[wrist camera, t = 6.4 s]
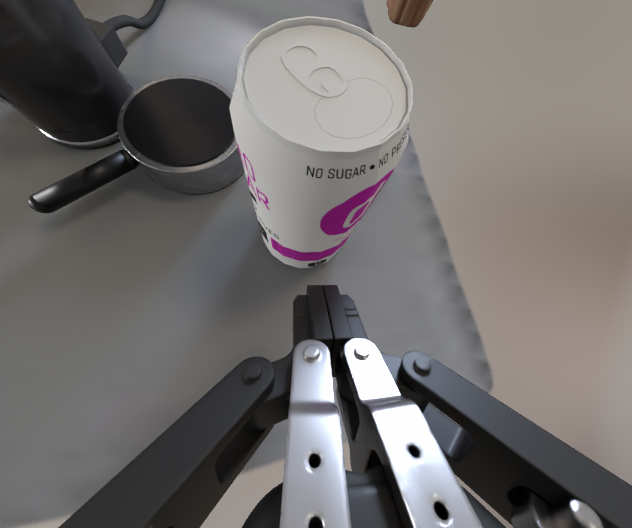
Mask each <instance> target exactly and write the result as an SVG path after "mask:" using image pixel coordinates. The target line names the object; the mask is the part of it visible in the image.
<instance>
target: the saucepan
mask: <svg viewBox="0 0 632 528" xmlns="http://www.w3.org/2000/svg"><path fill="white" fill-rule="evenodd" d="M232 96H233V95H232V94H231V93H230V92H229V91H228V90H227V89H225V88H224V87H222V86H221V85H219V84H217V83H215V82H213V81H210V80H207V79H204V78H200V77H194V76H170V77H164V78H160V79H157V80H154V81H151V82H149V83H147V84H145V85H143V86H141V87H140V88H138V89H137V90H136V91H134V92H133V93H132V94H131V95H130V96H129V97H128V98H127V99H126V101H125V102H124V104H123V105H122V107H121V109H120V111H119V115H118V119H117V131H118V135H119V138H120V140H121V143H122V145H123V146H124V148H125V149H126V150H120V151H118V152H116V153H114V154H112V155H110V156H108V157H106V158H104V159H102V160H100V161H98V162H96V163H94V164H92V165H90V166H88V167H86V168H84V169H82V170H80V171H78V172H76V173H74V174H72V175H70V176H68V177H66V178H64V179H62V180H60V181H58V182H56V183H54V184H52V185H50V186H48V187H46V188H44V189H42V190H40V191H39V192H37V193H35V194H33V195H31V196H30V197H29V199H28V203H29V205H30V207H31V208H32V209H34V210H35V211H38V212H41V213H52V212H54V211H56V210H58V209H60V208H62V207H64V206H66V205H68V204H69V203H71V202H73V201H75V200H77V199H79V198H81V197H83V196H84V195H86V194H88V193H90V192H92V191H94V190H96V189H98V188H99V187H101V186H103V185H105V184H107V183H109V182H111V181H113V180H114V179H116V178H118V177H120V176H122V175H124V174H126V173H128V172H129V171H131V170H133V169H135V168H136V167H137V166H138V164H139V165H140V166H141V167H142V168H143V169H144V170H145V171H146V172H147V174H148V175H149V176H150V177H151V178H152V179H153V180H154V181H156V182H157V183H158V184H160V185H161V186H163V187H165V188H167V189H169V190H172V191H175V192H178V193H183V194H206V193H211V192H214V191H217V190H220V189H222V188H224V187H226V186H228V185H230V184H231V183H233V182H234V181H235V180H236V179H237V178H238V177H240V175H241V174H242V173H243V172H244V167H243V164H242V160H241V157H240V153H239V149H238V146H237V142H236V138H235V135H234V130H233V124H232V119H231V114H230V109H229V107H230V103H231V99H232Z"/></svg>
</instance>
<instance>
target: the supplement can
mask: <svg viewBox="0 0 632 528" xmlns="http://www.w3.org/2000/svg"><path fill="white" fill-rule="evenodd" d="M237 74H238V79H237V82H236V85H235V88H234V92H233V96H232V99H231V103H230V107H229V109H230V114H231V119H232V124H233V130H234V135H235V138H236V142H237V146H238V149H239V153H240V157H241V160H242V164H243V167H244V171H245V175H246V178H247V182H248V186H249V189H250V193H251V197H252V200H253V204H254V207H255V211H256V215H257V218H258V222H259V226H260V229H261V233H262V237H263V240H264V243H265V244H266V246H267V248H268V249H269V251H270V252H271V254H272V255H273V256H275V257H276V258H277V259H279V260H280V261H281V262H283V263H284V264H287V265H290V266H293V267H297V268H314V267H317V266H319V265H322V264H324V263H327V262H328V261H329V260H331V259H332V258H333V257H334V256H335V255H336V254H337V253H338V252H339V250H340V249H341V247H342V246H343V244H344V243H345V241H346V240H347V239H348V237H349V236H350V234H351V233H352V231H353V230H354V228H355V227H356V225H357V224H358V222H359V221H360V219H361V218H362V216H363V215H364V213H365V212H366V210H367V209H368V207H369V206H370V204H371V203H372V202H373V200H374V199H375V197H376V196H377V194H378V193H379V191H380V190H381V188H382V187H383V185H384V184H385V182H386V181H387V179H388V178H389V176H390V175H391V173H392V172H393V170H394V169H395V167H396V166H397V165H398V163H399V160H400V158H401V156H402V154H403V152H404V150H405V147H406V145H407V143H408V131H409V113H410V111H411V109H412V107H413V93H412V91H413V89H412V82H411V80H410V78H409V75H408V73H407V71H406V68H405V66H404V64H403V62H402V61H401V60H400V59H399V57H398V56H397V55H396V54H395V53H394V52H393V51H392V50H391V49H390V47H388V45H387V44H386V43H385V42H383V41H381V40H380V39H378V38H377V37H375V36H374V35H372V34H371V33H369V32H368V31H366V30H364V29H363V28H360V27H357V26H354V25H352V24H349V23H346V22H343V21H340V20H338V19H331V18H322V17H312V16H306V17H299V18H292V19H285V20H281V21H279V22H277V23H275V24H273V25H270V26H268V27H266V28H264V29H262V30H260V31H259V32H258V33H257V34H256V35H255V36H254V37H253V38H252V39H251V40H250V42H249V43H248V44H247V45H246V46H245V47H244V48H243V51H242V55H241V58H240V62H239V65H238V69H237Z"/></svg>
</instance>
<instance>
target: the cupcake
mask: <svg viewBox="0 0 632 528" xmlns="http://www.w3.org/2000/svg"><path fill="white" fill-rule="evenodd" d="M432 2H433V0H387V7H388V14H389V18H390V20H391V21H392V22H393V23H395V24H399V25H403V26H407V27H416V26H418V25H419V23H420V22H421V20H422V19H423V18H424V16H425V14H426V12H427V11H428V9H429V7H430V6H431V4H432Z"/></svg>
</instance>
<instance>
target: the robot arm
mask: <svg viewBox="0 0 632 528" xmlns="http://www.w3.org/2000/svg"><path fill="white" fill-rule="evenodd" d="M164 2H165V0H155V1H154V3H153V5H152V7H151V9H150V10H149V12H148V13H147V14H146V15H145V16H143V17H142V18H140V19H136V18H134V17H131V16H127V15H120V16H116V17H113V18H111V19H109V20H107V21H105V22H104V23H101V22H97V21H94V20H90V19H87V18H85V17H84V16H83V14H82V12H81V11H80V9H79V8H78V6H77V5H76V3H75V2H74V0H0V97H1V98H2V99H3V100H4V101H6V102H7V103H8V104H9V105H11V106H12V107H13V108H14V109H16V110H17V111H18V112H19V113H21V114H22V115H23V116H24V117H26V118H27V119H28V120H29V121H31V122H32V123H33V124H34V125H36V126H37V128H38V129H39V130H40V131H41V132H43V133H44V134H45V135H46V136H48V137H49V138H50V139H52V140H53V141H55V142H57V143H59V144H62V145H65V146H68V147H73V148H95V147H100V146H104V145H107V144H110V143H113V142H115V141H117V140H119V139H120V138H119V135H118V131H117V119H118V115H119V111H120V109H121V107H122V105H123V104H124V102H125V101H126V99H127V98H128V97H129V96H130V95H131V94H132V93H133V92H134V90H133V89H132V87H131V86H130V85H129V84H128V83H127V82H126V80H125V79H124V77H123V75H122V74H121V72H120V71H119V69H118V67H119V66H120V64H121V63H122V61H123V60H124V58H125V57H126V55H127V51H126V49H125V48H124V46H123V44H122V42H121V41H120V39H119V37H118V36H117V34H116V32H115V31H117V30H119V29H121V28H123V27H127V26H132V27H135V28H138V29H145V28H147V27H149V26H150V25H151V24H152V23H153V22H154V21H155V20H156V18H157V17H158V15H159V14H160V12H161V9H162V7H163V5H164ZM0 100H1V99H0ZM3 100H2V101H3ZM4 101H3V102H4ZM4 103H5V102H4ZM332 377H336V380H337V391H336V395H337V399H338V403H339V407H340V411H341V415H342V419H343V423H344V427H345V431H346V434H347V438H348V442H349V447H350V461H351V468H352V471H347V470H345V463H344V454H343V445H342V436H341V426H340V417H339V411H338V408H337V407H336V406H335V400H334V389H333V379H332ZM429 402H430V403H431V404H432V405H431V404H430V403H429ZM433 405H434V406H435V407H436V408H435V407H434V406H433ZM437 408H438V409H439V410H440V411H441V412H440V411H439V410H438V409H437ZM442 412H443V413H444V414H445V415H444V414H443V413H442ZM446 415H447V416H448V417H449V418H448V417H447V416H446ZM287 418H288V425H287V438H286V451H285V465H284V478H283V483H281V484H279V485H278V486H276V487H275V488H273V489H272V490H271V491H270V492H269V493H268V494H266V495H265V497H263V499H262V500H261V501H260V502H259V503H258V504H257V506H256V507H255V508H254V509H253V511H252V512H251V514H250V515H249V517H248V518H247V520H246V521H245V523H244V525H243V527H242V528H506V527H505V526H504V525H503V524H502V523H501V522H499V520H498V519H496V518H495V517H494V516H493V515H492V514H491V513H490V512H489V511H488V510H487V509H486V508H485V507H484V506H483V505H482V504H481V503H479V501H477V500H476V499H475V498H474V497H473V496H472V495H471V494H470V493H469V492H468V491H467V490H466V489H465V488H463V487H462V486H461V485H460V483H459V482H458V480H457V478H456V476H457V477H459V478H460V479H461V480H462V481H463V482H464V483H465V484H466V485H467V486H469V487H470V488H471V489H472V490H473V491H474V492H475V493H476V494H478V495H479V496H480V497H481V498H482V499H483V500H484V501H486V503H488V504H489V505H490V506H491V507H492V508H493V509H494V510H495V511H497V512H498V513H499V514H500V515H501V516H502V517H503V518H504V519H506V520H507V521H508V522H509V523H510V524H511V525H512V526H513V528H632V486H631V485H630V484H628V483H627V482H625V481H623V480H622V479H620V478H619V477H617V476H616V475H614V474H613V473H611V472H609V471H608V470H606V469H605V468H603V467H602V466H600V465H599V464H597V463H595V462H594V461H592V460H591V459H589V458H588V457H586V456H584V455H583V454H581V453H580V452H578V451H577V450H575V449H574V448H572V447H570V446H569V445H567V444H566V443H564V442H563V441H561V440H559V439H558V438H556V437H555V436H553V435H552V434H550V433H549V432H547V431H545V430H544V429H542V428H541V427H539V426H538V425H536V424H535V423H533V422H531V421H530V420H528V419H527V418H525V417H524V416H522V415H521V414H519V413H517V412H516V411H514V410H513V409H511V408H510V407H508V406H507V405H505V404H503V403H502V402H500V401H499V400H497V399H496V398H494V397H492V396H491V395H489V394H488V393H486V392H485V391H483V390H482V389H480V388H478V387H477V386H475V385H474V384H472V383H471V382H469V381H468V380H466V379H464V378H463V377H461V376H460V375H458V374H457V373H455V372H453V371H452V370H450V369H449V368H447V367H446V366H444V365H443V364H441V363H439V362H438V361H436V360H435V359H433V358H432V357H430V356H428V355H427V354H424V353H422V352H418V351H410V352H407V353H406V354H405V355H404V356H403V358H399V357H395V356H391V355H387V354H384V353H382V352H380V351H379V350H378V348H377V347H376V346H375V345H374V344H373V343H372V342H370V341H369V340H368V338H367V335H366V333H365V330H364V327H363V325H362V322H361V320H360V317H359V314H358V312H357V310H356V307H355V304H354V301H353V300H352V299H351V298H350V297H349V296H348V295H340V293H339V290H338V287H337V285H307V295H297V297H296V298H295V300H294V302H293V349H292V351H291V352H290V353H289V354H288V355H287V356H286V357H284V358H282V359H280V360H277V361H274V362H270V361H269V360H267V359H265V358H263V357H251V358H248V359H246V360H244V361H242V362H241V363H240V364H238V365H237V366H236V367H235V368H234V369H233V370H232V371H231V372H230V373H229V374H227V375H226V376H225V377H224V378H223V379H222V380H221V381H220V382H219V383H218V384H216V385H215V386H214V387H213V388H212V389H211V390H210V391H209V392H208V393H206V394H205V395H204V396H203V397H202V398H201V399H200V400H199V401H198V402H197V403H195V404H194V405H193V406H192V407H191V408H190V409H189V410H188V411H187V412H186V413H184V414H183V415H182V416H181V417H180V418H179V419H178V420H177V421H176V422H174V423H173V424H172V425H171V426H170V427H169V428H168V429H167V430H166V431H165V432H163V433H162V434H161V435H160V436H159V437H158V438H157V439H156V440H155V441H154V442H152V443H151V444H150V445H149V446H148V447H147V448H146V449H145V450H144V451H142V452H141V453H140V454H139V455H138V456H137V457H136V458H135V459H134V460H133V461H131V462H130V463H129V464H128V465H127V466H126V467H125V468H124V469H123V470H121V471H120V472H119V473H118V474H117V475H116V476H115V477H114V478H113V479H112V480H110V481H109V482H108V483H107V484H106V485H105V486H104V487H103V488H102V489H101V490H99V491H98V492H97V493H96V494H95V495H94V496H93V497H92V498H91V499H89V500H88V501H87V502H86V503H85V504H84V505H83V506H82V507H81V508H80V509H78V510H77V511H76V512H75V513H74V514H73V515H72V516H71V517H70V518H69V519H67V520H66V521H65V522H64V523H63V524H62V525H61V526H60V527H59V528H200V526H201V525H202V523H203V522H204V521H205V519H206V518H207V517H208V515H209V513H210V512H211V511H212V510H213V508H214V507H215V506H216V504H217V503H218V502H219V500H220V499H221V498H222V496H223V495H224V493H225V492H226V491H227V489H228V488H229V487H230V485H231V484H232V483H233V481H234V480H235V478H236V477H237V476H238V474H239V473H240V472H241V470H242V469H243V468H244V466H245V465H246V463H247V462H248V461H249V459H250V458H251V457H252V455H253V454H254V453H255V451H256V450H257V448H258V447H259V446H260V444H261V443H262V442H263V440H264V439H265V438H266V436H267V435H268V433H269V432H270V431H271V429H272V428H273V426H274V424H276V423H279V422H281V421H283V420H285V419H287ZM450 418H451V419H452V420H453V421H455V422H456V423H457V424H459V425H460V426H461V427H460V426H459V425H457V424H456V423H454V422H453V421H452V420H451V419H450ZM455 475H456V476H455Z"/></svg>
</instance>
